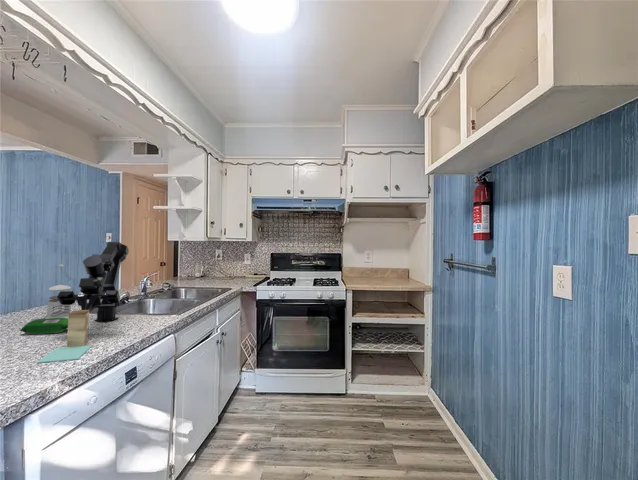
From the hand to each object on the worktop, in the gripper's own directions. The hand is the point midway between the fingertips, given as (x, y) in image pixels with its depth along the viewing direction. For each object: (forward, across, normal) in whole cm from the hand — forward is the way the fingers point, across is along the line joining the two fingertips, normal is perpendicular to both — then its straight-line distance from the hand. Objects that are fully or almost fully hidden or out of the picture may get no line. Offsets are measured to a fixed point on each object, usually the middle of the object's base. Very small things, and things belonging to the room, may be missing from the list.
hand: (83, 316), depth 105 cm
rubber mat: (+16, 0, -2) cm, 16 cm away
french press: (-21, -20, +34) cm, 44 cm away
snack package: (-4, -15, +17) cm, 23 cm away
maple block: (+10, 0, +4) cm, 10 cm away
